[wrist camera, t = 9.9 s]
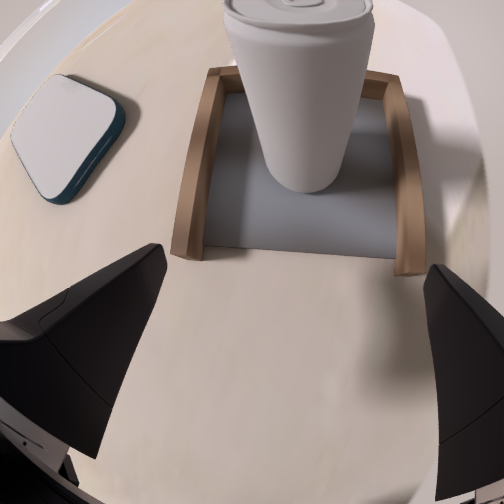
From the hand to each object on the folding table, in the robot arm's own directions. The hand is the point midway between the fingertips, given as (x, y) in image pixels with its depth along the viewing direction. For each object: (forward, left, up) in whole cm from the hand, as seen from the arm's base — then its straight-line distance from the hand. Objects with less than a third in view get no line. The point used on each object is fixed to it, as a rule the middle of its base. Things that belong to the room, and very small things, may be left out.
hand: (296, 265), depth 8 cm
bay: (+7, +3, -8) cm, 11 cm away
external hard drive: (+4, +31, -9) cm, 32 cm away
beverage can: (+7, +3, -8) cm, 11 cm away
